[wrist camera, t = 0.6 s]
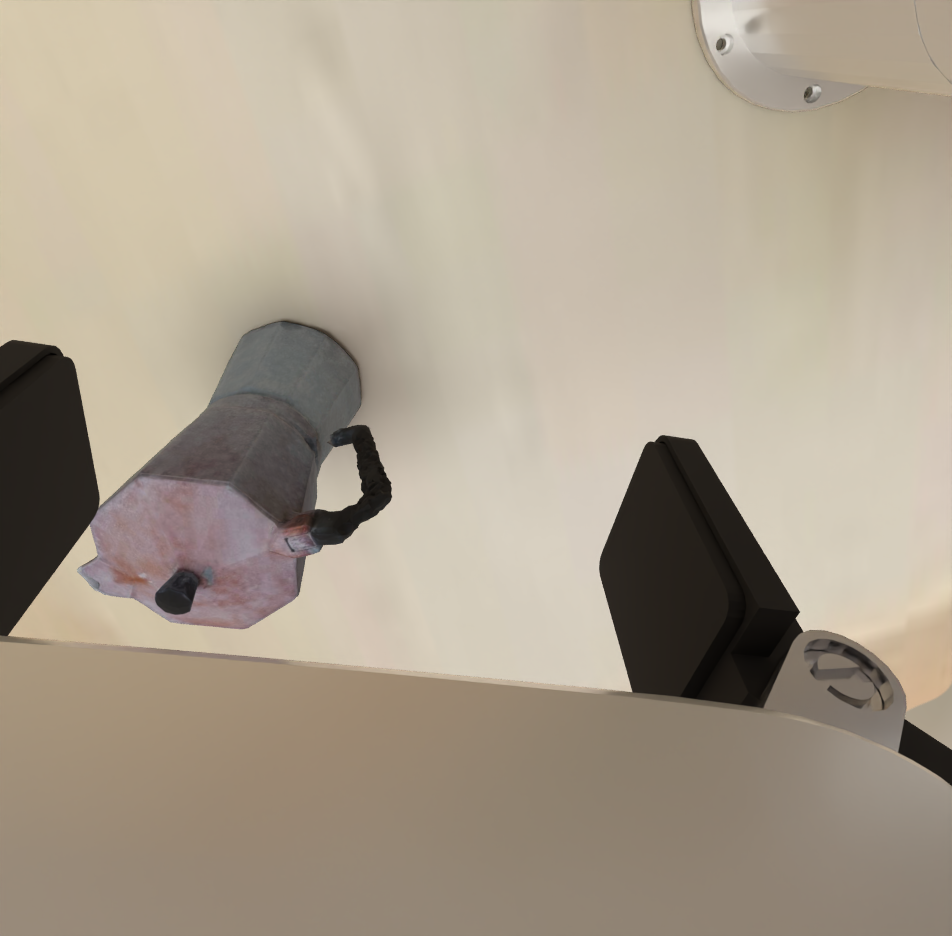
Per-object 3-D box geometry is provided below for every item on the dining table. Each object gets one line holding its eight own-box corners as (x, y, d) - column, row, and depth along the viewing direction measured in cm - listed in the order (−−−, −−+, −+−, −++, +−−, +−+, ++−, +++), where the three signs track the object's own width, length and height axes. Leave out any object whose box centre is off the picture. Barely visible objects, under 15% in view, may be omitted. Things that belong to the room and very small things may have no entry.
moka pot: (157, 354, 41) (-41, 570, 24) (373, 271, 38) (315, 450, 22) (237, 467, 46) (119, 707, 30) (432, 400, 43) (422, 624, 27)
